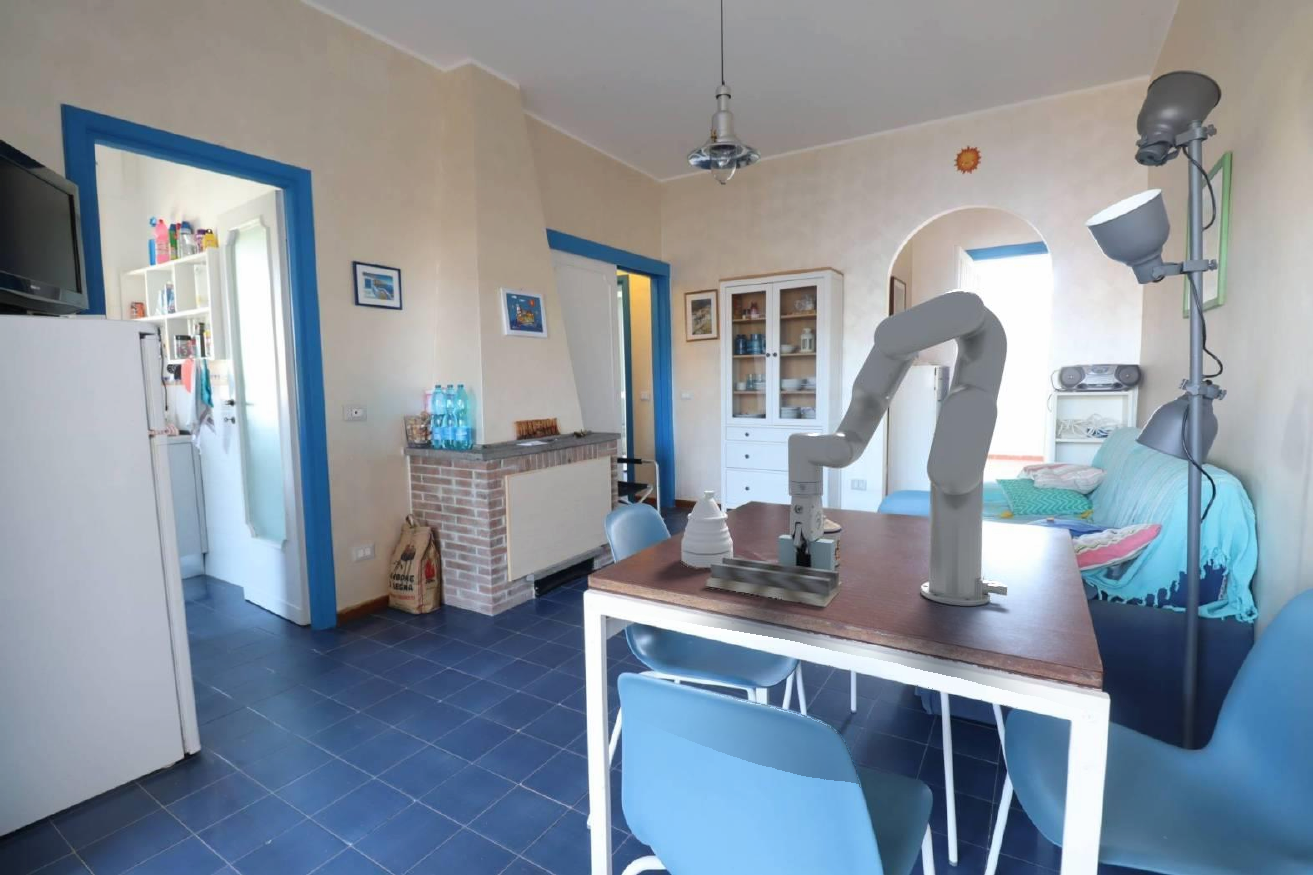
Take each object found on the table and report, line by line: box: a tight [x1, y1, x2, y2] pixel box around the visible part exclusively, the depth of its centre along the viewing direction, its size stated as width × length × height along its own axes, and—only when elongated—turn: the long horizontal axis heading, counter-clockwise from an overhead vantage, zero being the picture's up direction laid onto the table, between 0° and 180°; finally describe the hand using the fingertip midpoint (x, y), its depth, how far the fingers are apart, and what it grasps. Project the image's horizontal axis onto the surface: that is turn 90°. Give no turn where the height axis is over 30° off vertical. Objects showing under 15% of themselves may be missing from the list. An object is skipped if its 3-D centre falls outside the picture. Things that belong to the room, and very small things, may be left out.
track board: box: [705, 556, 843, 608], centre depth 132 cm, size 26×12×4 cm, turn 58°
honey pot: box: [680, 490, 734, 567], centre depth 154 cm, size 13×13×18 cm
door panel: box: [777, 534, 836, 571], centre depth 139 cm, size 12×3×9 cm, turn 58°
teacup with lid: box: [819, 514, 842, 567], centre depth 152 cm, size 12×9×12 cm
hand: (806, 568), depth 139 cm, fingers closed on door panel, 3 cm apart
